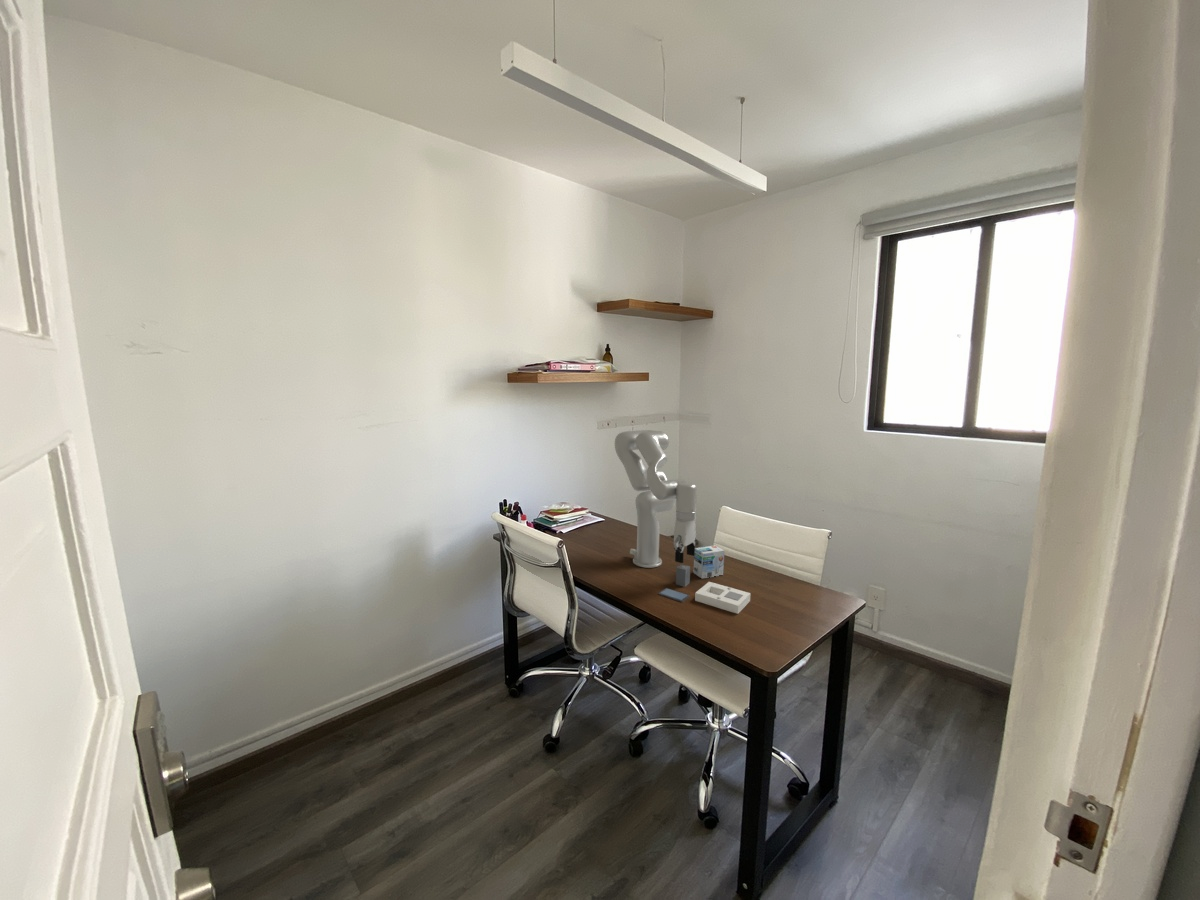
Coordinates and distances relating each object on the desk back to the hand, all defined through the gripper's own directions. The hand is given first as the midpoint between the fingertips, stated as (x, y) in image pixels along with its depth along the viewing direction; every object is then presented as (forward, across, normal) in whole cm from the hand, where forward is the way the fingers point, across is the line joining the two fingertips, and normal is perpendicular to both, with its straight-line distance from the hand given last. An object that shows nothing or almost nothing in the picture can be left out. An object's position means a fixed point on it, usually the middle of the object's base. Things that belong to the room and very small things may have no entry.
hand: (685, 558), depth 184 cm
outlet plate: (+11, +4, +17) cm, 21 cm away
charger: (+11, 0, -1) cm, 11 cm away
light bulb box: (+11, -16, +3) cm, 19 cm away
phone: (+12, +10, +1) cm, 16 cm away
